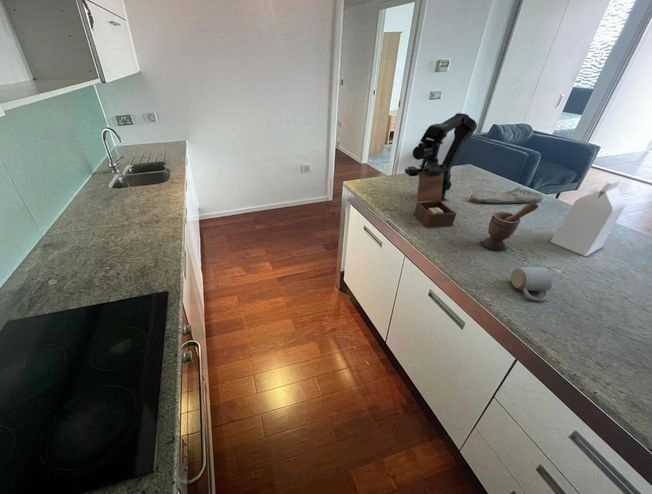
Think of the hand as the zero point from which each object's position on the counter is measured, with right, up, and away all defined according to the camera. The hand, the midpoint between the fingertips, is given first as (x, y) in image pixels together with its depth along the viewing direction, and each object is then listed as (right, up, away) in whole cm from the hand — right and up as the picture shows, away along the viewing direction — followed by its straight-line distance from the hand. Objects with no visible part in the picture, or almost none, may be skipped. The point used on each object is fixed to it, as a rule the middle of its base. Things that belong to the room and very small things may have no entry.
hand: (422, 187), depth 141 cm
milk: (+48, -27, -26) cm, 61 cm away
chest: (+2, -16, -6) cm, 17 cm away
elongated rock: (+46, -5, +9) cm, 47 cm away
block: (+2, -16, -7) cm, 17 cm away
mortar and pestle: (+18, -28, -25) cm, 42 cm away
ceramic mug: (+12, -42, -47) cm, 64 cm away
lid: (+1, -1, -7) cm, 7 cm away
